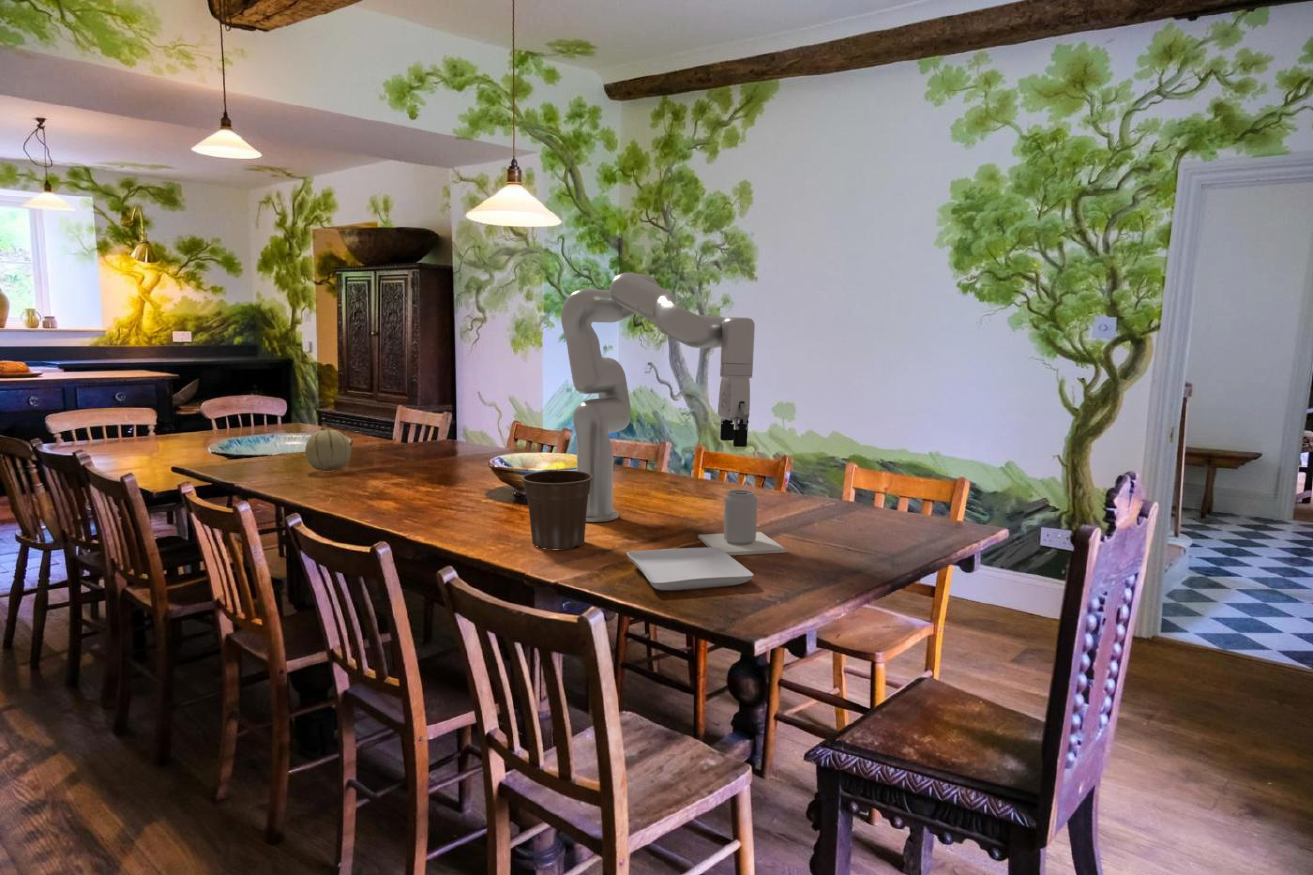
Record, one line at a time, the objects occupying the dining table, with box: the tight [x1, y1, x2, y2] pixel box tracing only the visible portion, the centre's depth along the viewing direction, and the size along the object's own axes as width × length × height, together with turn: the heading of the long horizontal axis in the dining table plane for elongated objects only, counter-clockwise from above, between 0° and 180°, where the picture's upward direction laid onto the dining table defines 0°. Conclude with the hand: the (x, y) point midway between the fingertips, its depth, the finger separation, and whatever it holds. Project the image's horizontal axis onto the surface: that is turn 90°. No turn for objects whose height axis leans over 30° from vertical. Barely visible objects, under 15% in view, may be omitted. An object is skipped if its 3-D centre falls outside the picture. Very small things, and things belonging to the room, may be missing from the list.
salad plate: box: [626, 546, 754, 591], centre depth 166 cm, size 21×21×3 cm
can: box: [723, 489, 758, 545], centre depth 190 cm, size 8×8×12 cm
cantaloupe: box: [304, 427, 352, 472], centre depth 277 cm, size 15×15×15 cm
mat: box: [697, 531, 787, 556], centre depth 191 cm, size 16×16×1 cm
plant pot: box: [521, 469, 593, 550], centre depth 188 cm, size 16×16×16 cm
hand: (733, 443), depth 191 cm, fingers open, 9 cm apart
